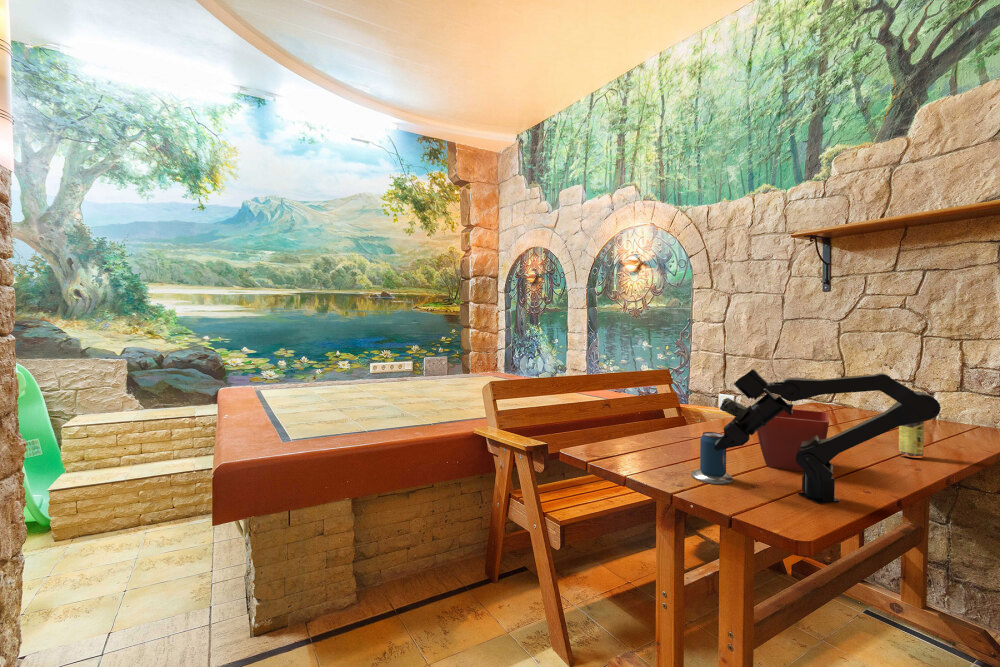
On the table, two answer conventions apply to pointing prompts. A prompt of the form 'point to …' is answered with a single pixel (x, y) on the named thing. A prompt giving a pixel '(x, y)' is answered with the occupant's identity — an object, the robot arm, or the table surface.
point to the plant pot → (790, 436)
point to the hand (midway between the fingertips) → (718, 445)
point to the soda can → (712, 456)
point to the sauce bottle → (911, 439)
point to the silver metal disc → (719, 481)
